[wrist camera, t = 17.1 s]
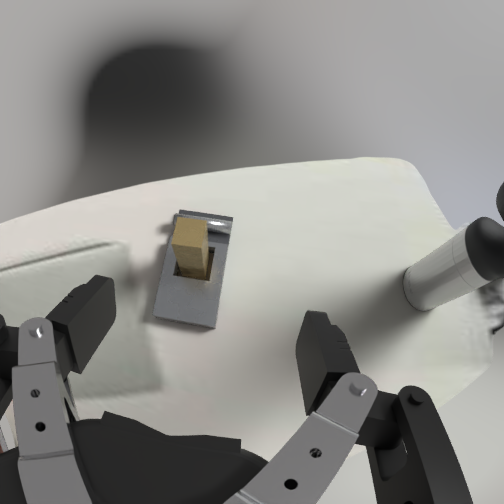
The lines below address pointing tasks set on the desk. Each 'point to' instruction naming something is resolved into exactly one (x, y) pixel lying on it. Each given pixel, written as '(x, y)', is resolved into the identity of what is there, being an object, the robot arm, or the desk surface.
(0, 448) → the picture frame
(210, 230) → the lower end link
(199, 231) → the pine wood offcut
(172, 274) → the upper end link
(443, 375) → the desk surface
